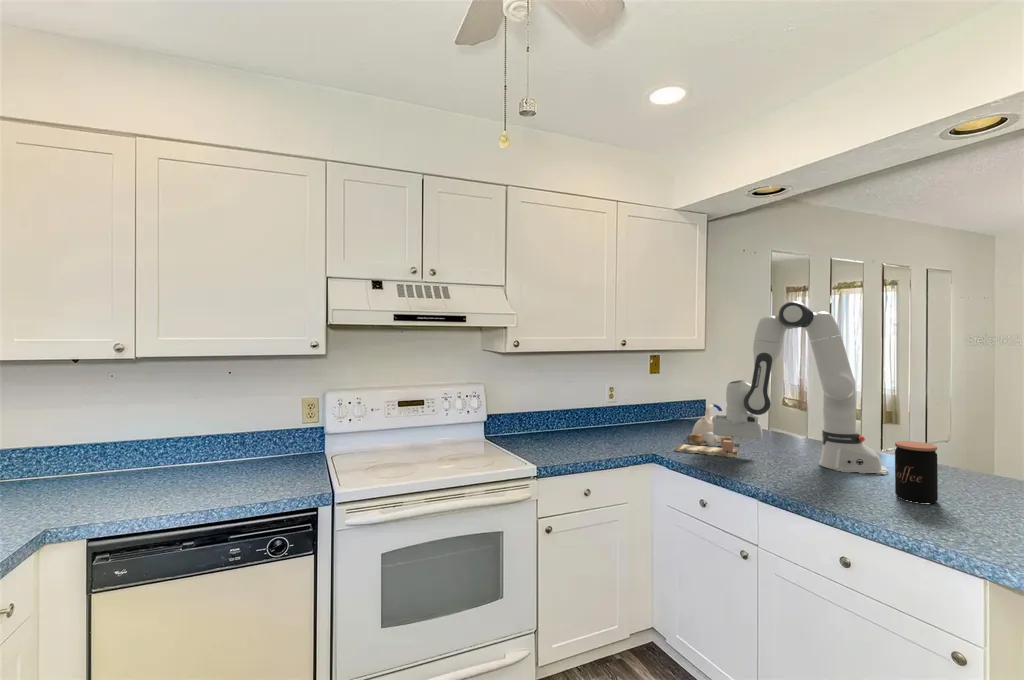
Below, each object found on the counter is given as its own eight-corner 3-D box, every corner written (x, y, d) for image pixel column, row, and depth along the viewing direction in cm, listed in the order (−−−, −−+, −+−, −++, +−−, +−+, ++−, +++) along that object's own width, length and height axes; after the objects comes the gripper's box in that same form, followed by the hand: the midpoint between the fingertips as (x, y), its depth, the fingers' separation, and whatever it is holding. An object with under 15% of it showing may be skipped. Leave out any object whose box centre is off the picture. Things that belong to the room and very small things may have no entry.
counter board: (738, 452, 221) (738, 449, 221) (736, 457, 213) (736, 454, 213) (680, 447, 234) (679, 443, 234) (675, 451, 226) (675, 448, 226)
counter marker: (733, 449, 220) (733, 440, 220) (731, 453, 214) (731, 444, 214) (723, 448, 222) (723, 440, 222) (722, 452, 216) (721, 443, 216)
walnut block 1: (703, 444, 240) (703, 434, 240) (699, 446, 237) (699, 435, 236) (693, 442, 244) (693, 433, 244) (689, 444, 240) (689, 434, 240)
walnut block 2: (731, 446, 235) (731, 436, 235) (733, 448, 230) (733, 438, 230) (720, 445, 236) (720, 435, 236) (722, 448, 231) (722, 437, 231)
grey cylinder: (718, 444, 238) (717, 432, 238) (716, 446, 234) (716, 434, 234) (707, 443, 241) (707, 431, 241) (705, 445, 236) (705, 433, 236)
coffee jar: (886, 494, 162) (886, 441, 162) (916, 493, 163) (916, 440, 163) (915, 506, 151) (915, 448, 151) (947, 504, 152) (946, 447, 152)
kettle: (684, 438, 254) (683, 404, 254) (703, 432, 268) (702, 400, 267) (722, 444, 239) (721, 408, 238) (740, 438, 252) (740, 403, 252)
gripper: (711, 415, 219) (711, 446, 220) (761, 419, 209) (761, 450, 209) (713, 413, 225) (713, 443, 225) (762, 416, 215) (762, 447, 215)
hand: (737, 446), depth 217 cm, fingers closed
